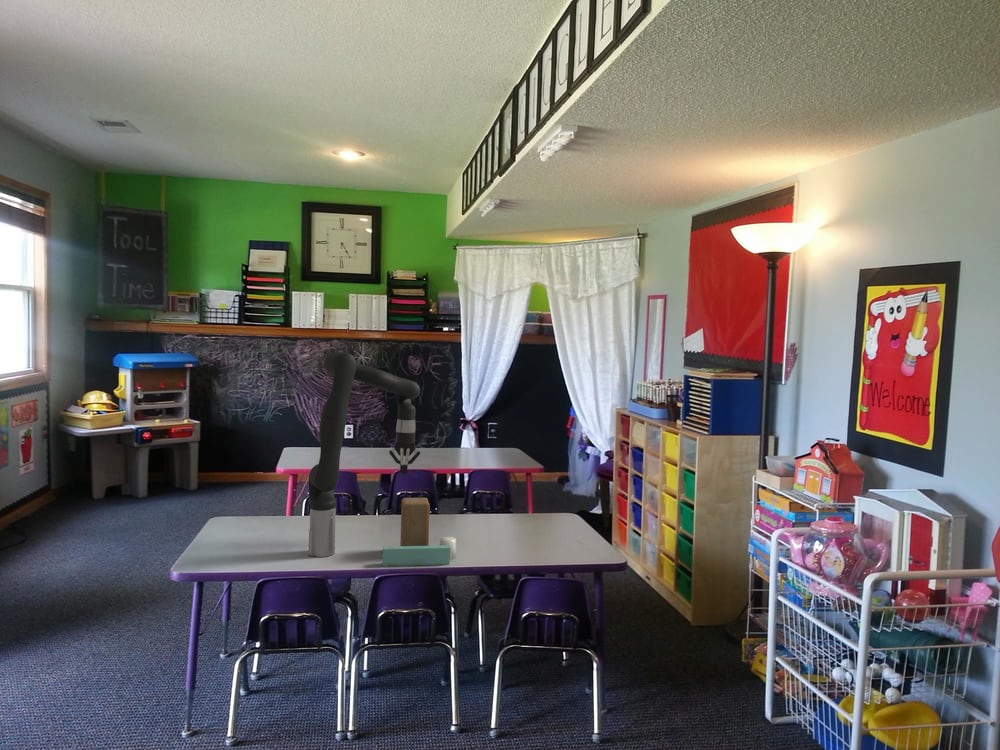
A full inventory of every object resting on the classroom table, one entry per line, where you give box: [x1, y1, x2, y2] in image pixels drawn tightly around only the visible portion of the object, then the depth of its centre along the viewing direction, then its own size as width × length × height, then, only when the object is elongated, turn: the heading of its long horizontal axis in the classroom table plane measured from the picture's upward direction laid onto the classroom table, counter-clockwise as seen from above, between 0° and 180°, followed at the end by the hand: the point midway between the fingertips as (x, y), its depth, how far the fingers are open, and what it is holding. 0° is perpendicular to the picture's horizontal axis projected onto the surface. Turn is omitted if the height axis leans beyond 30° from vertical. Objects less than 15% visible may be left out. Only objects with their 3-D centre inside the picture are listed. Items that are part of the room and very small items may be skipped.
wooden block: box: [399, 497, 431, 546], centre depth 263 cm, size 10×10×20 cm
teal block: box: [381, 545, 451, 567], centre depth 251 cm, size 24×3×6 cm, turn 100°
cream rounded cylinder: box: [439, 536, 457, 561], centre depth 259 cm, size 6×6×7 cm
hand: (403, 474), depth 278 cm, fingers closed
